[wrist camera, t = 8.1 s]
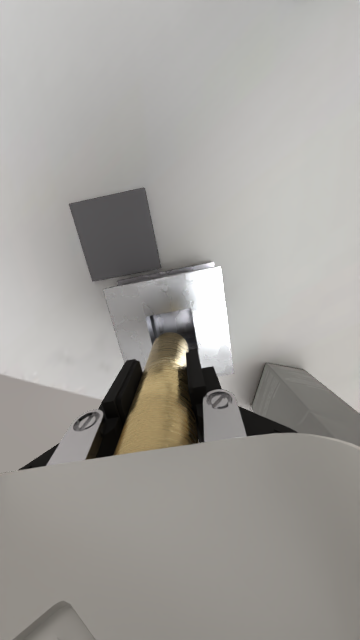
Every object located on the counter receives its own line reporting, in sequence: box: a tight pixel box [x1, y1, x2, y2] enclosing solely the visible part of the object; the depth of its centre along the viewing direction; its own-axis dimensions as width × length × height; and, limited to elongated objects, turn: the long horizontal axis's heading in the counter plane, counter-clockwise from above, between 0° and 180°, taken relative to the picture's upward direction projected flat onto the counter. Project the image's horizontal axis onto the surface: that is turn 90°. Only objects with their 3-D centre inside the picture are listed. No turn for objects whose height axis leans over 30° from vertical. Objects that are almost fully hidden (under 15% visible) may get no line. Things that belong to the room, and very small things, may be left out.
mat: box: [69, 188, 161, 281], centre depth 23 cm, size 9×9×1 cm
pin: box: [113, 332, 199, 456], centre depth 10 cm, size 3×3×12 cm
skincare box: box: [252, 363, 360, 447], centre depth 21 cm, size 8×7×16 cm
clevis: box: [103, 262, 234, 376], centre depth 22 cm, size 12×12×8 cm
